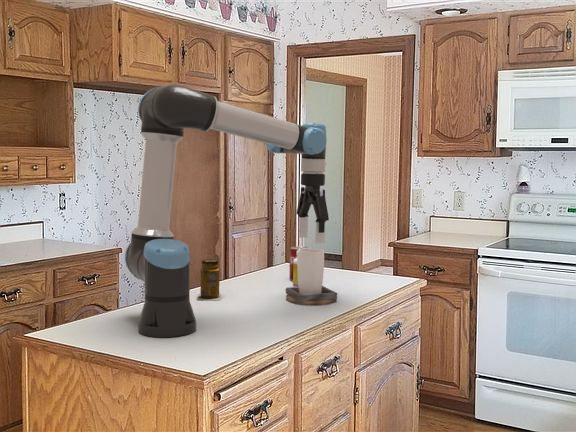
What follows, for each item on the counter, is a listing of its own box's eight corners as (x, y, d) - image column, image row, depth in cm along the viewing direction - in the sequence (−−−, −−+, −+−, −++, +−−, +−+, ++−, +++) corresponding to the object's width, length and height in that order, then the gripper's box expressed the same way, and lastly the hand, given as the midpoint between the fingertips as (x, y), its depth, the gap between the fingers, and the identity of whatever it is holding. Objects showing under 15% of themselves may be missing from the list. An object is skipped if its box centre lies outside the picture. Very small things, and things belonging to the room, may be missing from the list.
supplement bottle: (309, 290, 230) (310, 253, 229) (290, 289, 232) (291, 252, 230) (314, 286, 236) (314, 250, 235) (295, 285, 238) (296, 249, 237)
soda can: (309, 282, 244) (310, 249, 243) (289, 282, 244) (289, 249, 243) (309, 278, 251) (309, 246, 250) (289, 278, 251) (289, 246, 250)
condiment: (221, 294, 222) (221, 258, 221) (219, 300, 214) (219, 263, 213) (199, 294, 222) (199, 258, 221) (196, 300, 214) (196, 262, 213)
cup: (304, 292, 222) (305, 247, 220) (325, 295, 219) (326, 249, 217) (294, 297, 216) (295, 250, 214) (315, 299, 212) (316, 252, 211)
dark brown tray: (297, 307, 206) (297, 297, 206) (278, 295, 221) (279, 286, 221) (344, 303, 212) (344, 293, 212) (323, 292, 227) (324, 283, 227)
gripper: (341, 174, 202) (338, 245, 204) (308, 171, 226) (307, 234, 228) (317, 174, 200) (315, 246, 202) (287, 171, 223) (286, 235, 225)
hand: (311, 240), depth 215 cm, fingers open, 13 cm apart
